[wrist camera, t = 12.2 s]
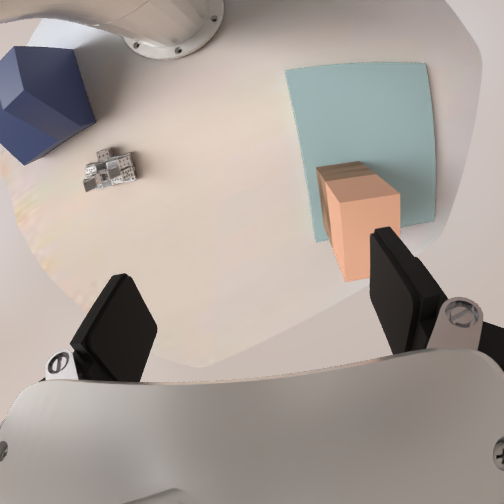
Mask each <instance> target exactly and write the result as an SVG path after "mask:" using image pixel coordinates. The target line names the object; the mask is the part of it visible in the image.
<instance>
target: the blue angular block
mask: <svg viewBox="0 0 504 504" xmlns="http://www.w3.org/2000/svg"><path fill="white" fill-rule="evenodd" d="M94 123H96V120H95V117H94V114H93V111H92V108H91V106H90V103H89V100H88V97H87V94H86V91H85V88H84V85H83V81H82V78H81V75H80V72H79V68H78V65H77V62H76V58H75V55H74V51H73V50H72V49H62V48H49V47H29V46H14V47H13V48H12V49H11V50H10V51H9V52H8V53H7V54H6V55H5V56H4V57H3V58H2V59H1V60H0V143H1V144H2V145H3V146H4V147H5V148H6V149H7V150H8V151H9V152H10V153H11V154H12V155H13V156H14V157H15V158H17V159H18V160H19V161H20V162H21V163H22V164H23V165H27V164H29V163H31V162H33V161H35V160H37V159H39V158H41V157H43V156H44V155H45V154H47V153H48V152H50V151H51V150H53V149H54V148H56V147H57V146H59V145H60V144H62V143H63V142H65V141H66V140H68V139H69V138H71V137H72V136H74V135H76V134H77V133H79V132H80V131H82V130H84V129H85V128H87V127H89V126H91V125H92V124H94Z"/></svg>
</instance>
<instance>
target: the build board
mask: <svg viewBox="0 0 504 504" xmlns="http://www.w3.org/2000/svg"><path fill="white" fill-rule="evenodd" d="M285 76H286V80H287V84H288V89H289V93H290V98H291V103H292V107H293V112H294V117H295V122H296V127H297V132H298V137H299V142H300V148H301V153H302V159H303V164H304V170H305V176H306V182H307V188H308V195H309V201H310V208H311V214H312V221H313V228H314V236H315V240H316V242H320V241H326V240H329V238H328V236H327V233H326V231H325V229H324V224H323V216H322V209H321V201H320V194H319V187H318V180H317V174H316V167H321V166H327V165H334V164H341V163H348V162H355V161H360V162H361V163H363V164H364V165H365V166H366V167H368V168H369V169H370V170H372V171H373V172H374V173H376V174H377V175H378V176H379V177H380V178H382V179H383V180H384V181H385V182H387V183H388V184H389V185H390V186H391V187H393V188H394V189H395V190H396V191H397V192H399V193H400V227H404V226H410V225H416V224H421V223H427V222H432V221H434V217H435V193H436V159H435V136H434V123H433V112H432V103H431V95H430V87H429V81H428V74H427V68H426V64H424V63H401V62H373V63H349V64H335V65H324V66H314V67H306V68H298V69H291V70H285Z"/></svg>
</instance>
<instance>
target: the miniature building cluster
mask: <svg viewBox="0 0 504 504" xmlns="http://www.w3.org/2000/svg"><path fill="white" fill-rule="evenodd" d="M97 157H98V161H99V162H101V161H104V160H106V161H104V162H101V163H99V162H98V163H94V164H91V165H90V164H88V165H86V166H85V171H86V176H85V177H86V178H85V179H84V181H83V183H84V187H85V190H86V192H88V191H90V190H96V189H100V188H102V187H103V188H106V187H111V186H113V185H115V184H118V183H121V182H123V183H124V182H130V181H135V180H136V179H137V175H136V171H135V166H133V165H135V164H133V161H132V156H131V152H129V153H128V154H126V155H122V156H118V157H117V156H116V157H113V153H112V149H111V148H108V149H106V150H101V151H99V152H97ZM111 157H112V158H111ZM132 166H133V167H132Z"/></svg>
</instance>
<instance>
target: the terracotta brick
mask: <svg viewBox="0 0 504 504" xmlns="http://www.w3.org/2000/svg"><path fill="white" fill-rule="evenodd" d="M325 184H326V192H327V200H328V208H329V216H330V225H331V235H332V245H333V252H334V254H335V257H336V259H337V262H338V264H339V267H340V269H341V272H342V275H343V277H344V280H345V282H349V281H354V280H359V279H365V278H370V234H371V233H374V230H375V229H377V228H383V227H388V226H390V227H391V228H392V230H393V231H394V232H395V233H396V234H397V236H398V237H399V238H400V193H399V192H397V191H396V190H395V189H394V188H393V187H391V186H390V185H389V184H388V183H387V182H385V181H384V180H383V179H382V178H380V177H379V176H378V175H376V174H374V175H366V176H359V177H352V178H346V179H339V180H332V181H326V182H325Z"/></svg>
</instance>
